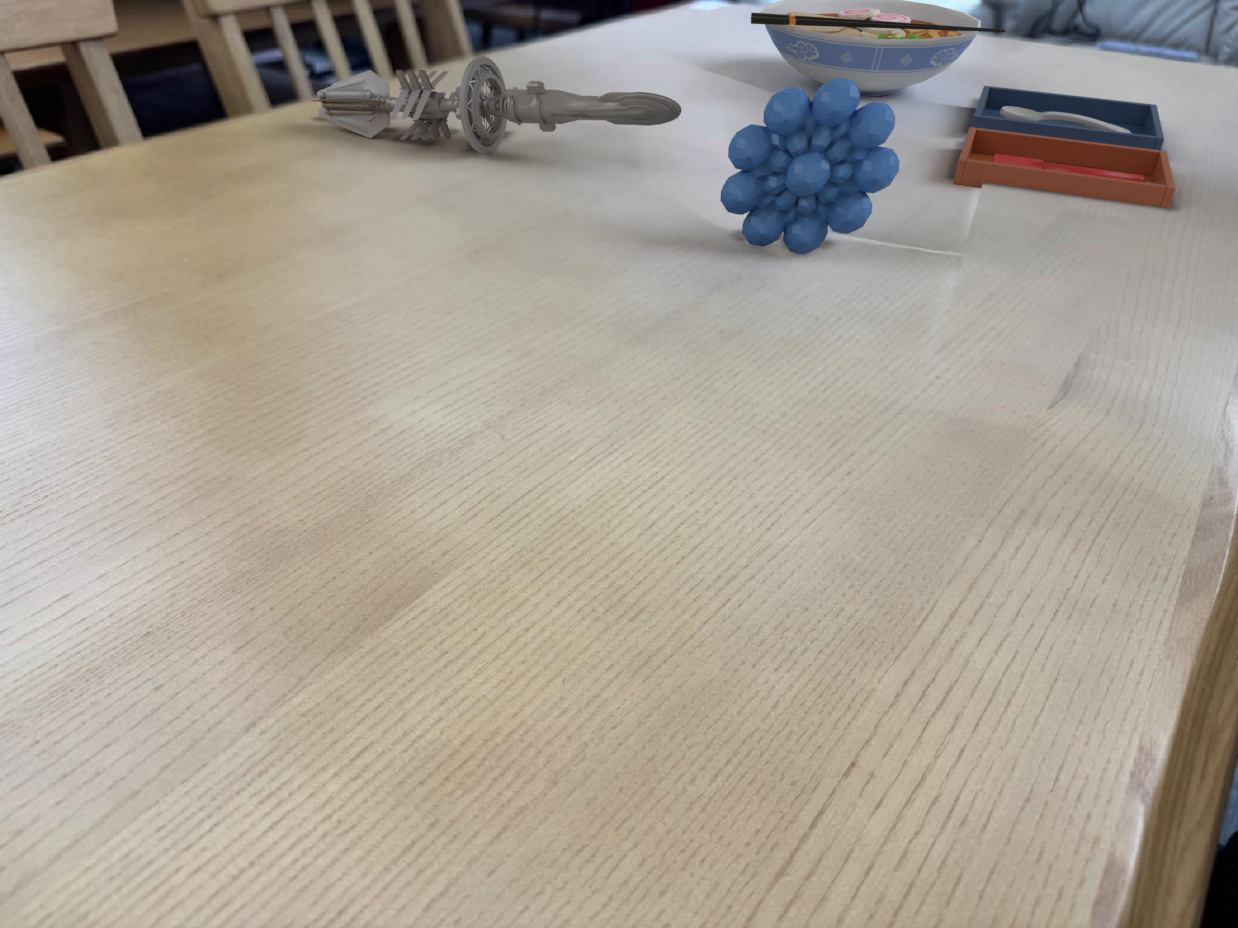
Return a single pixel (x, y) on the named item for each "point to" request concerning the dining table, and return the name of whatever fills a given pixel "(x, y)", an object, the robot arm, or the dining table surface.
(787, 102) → the blue beaded flower
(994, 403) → the dining table surface
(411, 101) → the spaceship
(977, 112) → the blue tray
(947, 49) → the ramen bowl
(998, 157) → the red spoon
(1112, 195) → the terracotta tray
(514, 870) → the dining table surface
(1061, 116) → the spoon
